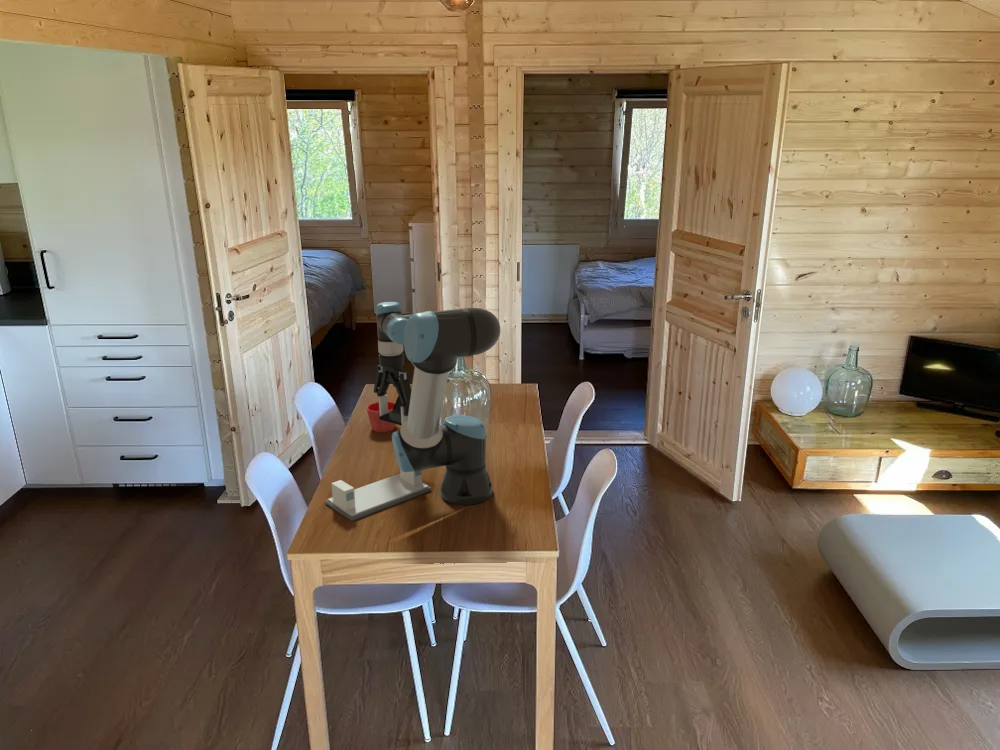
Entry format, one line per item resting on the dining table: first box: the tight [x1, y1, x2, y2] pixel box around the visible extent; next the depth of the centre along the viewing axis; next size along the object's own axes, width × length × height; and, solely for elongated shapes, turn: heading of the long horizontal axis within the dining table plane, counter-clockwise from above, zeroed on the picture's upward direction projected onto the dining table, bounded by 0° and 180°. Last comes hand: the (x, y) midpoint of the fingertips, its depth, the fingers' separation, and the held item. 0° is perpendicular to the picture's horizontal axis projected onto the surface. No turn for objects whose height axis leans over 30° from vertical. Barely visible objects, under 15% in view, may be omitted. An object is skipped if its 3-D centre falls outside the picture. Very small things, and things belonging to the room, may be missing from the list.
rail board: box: [324, 469, 432, 522], centre depth 208 cm, size 14×27×8 cm, turn 133°
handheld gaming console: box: [379, 395, 402, 426], centre depth 229 cm, size 11×10×4 cm
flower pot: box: [366, 401, 397, 433], centre depth 257 cm, size 11×11×10 cm
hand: (394, 420), depth 227 cm, fingers closed on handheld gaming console, 11 cm apart
